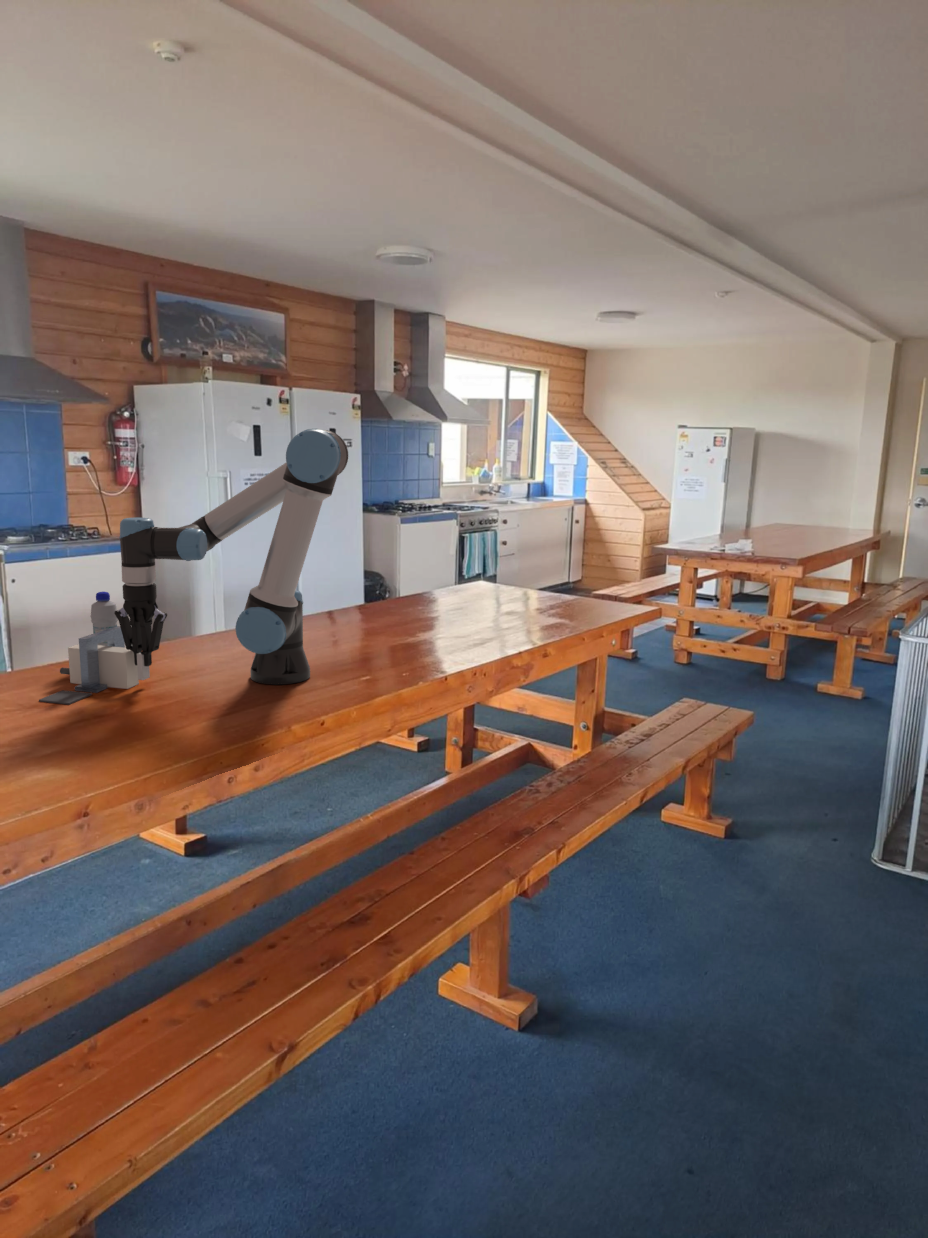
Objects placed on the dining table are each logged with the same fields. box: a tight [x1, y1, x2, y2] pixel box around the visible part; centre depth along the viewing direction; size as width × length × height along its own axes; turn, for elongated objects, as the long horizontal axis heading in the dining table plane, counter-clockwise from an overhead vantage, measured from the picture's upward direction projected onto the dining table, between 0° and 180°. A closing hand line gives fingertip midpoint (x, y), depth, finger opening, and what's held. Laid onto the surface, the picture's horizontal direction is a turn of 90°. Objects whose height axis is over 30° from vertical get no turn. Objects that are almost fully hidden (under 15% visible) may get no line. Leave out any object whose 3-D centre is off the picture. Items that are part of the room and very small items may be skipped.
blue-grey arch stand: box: [74, 625, 126, 694], centre depth 206 cm, size 6×14×13 cm, turn 167°
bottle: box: [90, 591, 119, 646], centre depth 222 cm, size 7×7×20 cm
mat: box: [38, 689, 93, 705], centre depth 195 cm, size 8×8×1 cm
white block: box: [59, 643, 140, 690], centre depth 207 cm, size 20×4×9 cm, turn 77°
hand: (143, 678), depth 205 cm, fingers closed
